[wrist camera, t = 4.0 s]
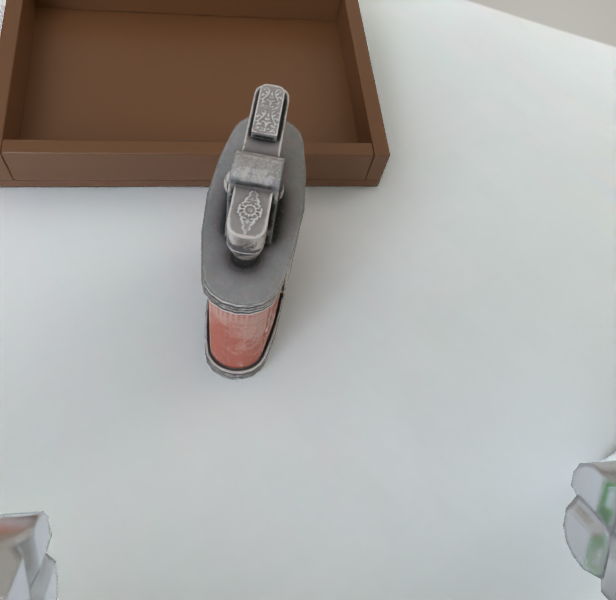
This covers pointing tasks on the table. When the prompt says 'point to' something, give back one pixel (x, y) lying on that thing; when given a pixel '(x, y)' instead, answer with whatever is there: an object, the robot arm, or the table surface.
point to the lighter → (251, 234)
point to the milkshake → (611, 457)
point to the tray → (180, 89)
